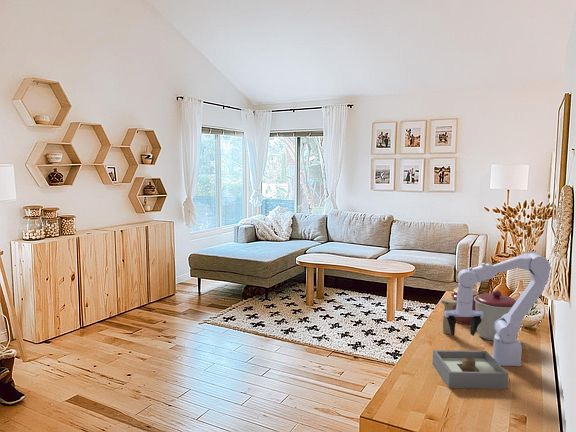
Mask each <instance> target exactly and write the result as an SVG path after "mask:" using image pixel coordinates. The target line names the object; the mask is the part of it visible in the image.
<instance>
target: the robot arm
mask: <svg viewBox="0 0 576 432" xmlns="http://www.w3.org/2000/svg"><path fill="white" fill-rule="evenodd" d="M514 269H522V270H526V271H529V275H530V278H531V281H530V282H529V283H528V285H526V287H525V289H524V290H523V291H522V293H521V294H520V295H519V297H518V298H517V299H516V302H515V304H514V305H513V307H512V308H511V309H510V311H509V312H508V313H507V314H504V315H503V316H502V317H501V318H500V319H498V320H497V321H495V323H494V330H495V331H496V334H495V336H494V341H493V346H492V347H493V348H492V349H493V350H492V355H491V356H492V357H493V358H494V359H495V360H496V361H497V362H498V363H499V365H500V366H501V367H503V366H507V367H512V366H513V367H521V366H522V363H521V362H522V351H523V349H522V343H521V342H520V340H519V339H517V337H518V332H519V330H520V329H521V324H522V323H521V322H522V321H523V319H524V318H525V316H526V315H527V314H528V312H529V311H530V310H531V309H532V307H533V306H534V305H535V303H536V302H537V300H538V299H539V298H540V296H541V295H542V294H543V292H544V291H545V290H544V287H545V285H546V284H547V281H548V278H549V279H550V271H551V270H552V267H551V264H550V262H549V260H548V259H547V258H546V257H544V256H542V255H541V254H540V253H538V252H536V251H529V252H527V253H526V252H525V253H521V254H519V255H517V256H514V257H511V258H509V259H506V260H503V261H500V262H497V263H495V264H490V263H485V262H482V263H481V264H480V265H477V266H475V267H470V266H469V267H468V269H466V268H463V269H461V270H459V272H458V274H457V275H456V279H457V281H458V283H457V287H458V290H457V306H456V310H450V311H444V310H443V316H445V317H446V318H447V320H448V323H449V326H450V331H451V333H450V335H452V336H455V334H456V325H457V322H456V320H455V318H454V317H470V318H471V324H470V331H469V333H470V335H471V336H472V337H474V336H475V333H476V331H477V327H478V325H479V324H480V323H481V321H482V319H481V318H483V315H484V313H483V312H482V311H472V304H473V288H474V286H475V284H476V283H481V282H484V281H486V280H487V281H488V280H490V279H494V278H495V276H496V275H497V274H499V273H502V272H503V273H505V272H507V271H510V270H514Z"/></svg>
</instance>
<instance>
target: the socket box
mask: <svg viewBox="0 0 576 432" xmlns="http://www.w3.org/2000/svg"><path fill="white" fill-rule="evenodd" d="M492 356H493V355H492ZM492 356H491V355H490V353H488V351H487V350H442V349H441V350H440V349H438V350H435V349H433V350H432V362H431V364H432V366H433V368H434V369H435V370H436V372H437V373H438V375H439V377H441V379H442V381H443V382H444V384H445V385H446V387H447V388H448V389H489V390H490V389H495V390H496V389H501V390H503V389H504V390H507V389H508V382H509V372H508V371H506V370H505V369H504V367H503V366H500V365H499V363H498V362H497V361H496V360H495V359H494V358H493V357H492ZM464 357H469V358H472V359H474V360H475V372H463V371H462V358H464Z"/></svg>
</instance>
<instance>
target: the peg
mask: <svg viewBox="0 0 576 432" xmlns="http://www.w3.org/2000/svg"><path fill="white" fill-rule="evenodd" d="M462 371H463V372H475V360H474V359H472V358H469V357H464V358H462Z"/></svg>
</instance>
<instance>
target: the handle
mask: <svg viewBox="0 0 576 432" xmlns="http://www.w3.org/2000/svg"><path fill="white" fill-rule="evenodd" d="M440 302H441V304H443V305H444V308H443V312H444V311H450V310H452V308H453V306H454V305H456V303H457V301H456V300H452V298H444V297H443V298H441V299H440ZM442 333H443V334H445V335H451V331H450V326H449V323H448V320H447V318H446V317H445V316H444V315H443V317H442Z"/></svg>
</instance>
